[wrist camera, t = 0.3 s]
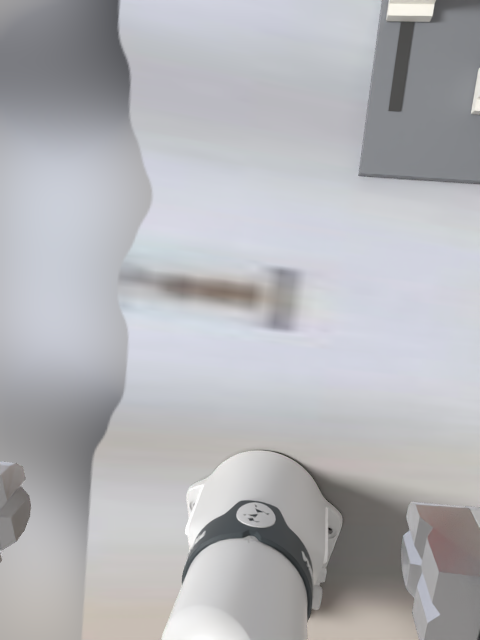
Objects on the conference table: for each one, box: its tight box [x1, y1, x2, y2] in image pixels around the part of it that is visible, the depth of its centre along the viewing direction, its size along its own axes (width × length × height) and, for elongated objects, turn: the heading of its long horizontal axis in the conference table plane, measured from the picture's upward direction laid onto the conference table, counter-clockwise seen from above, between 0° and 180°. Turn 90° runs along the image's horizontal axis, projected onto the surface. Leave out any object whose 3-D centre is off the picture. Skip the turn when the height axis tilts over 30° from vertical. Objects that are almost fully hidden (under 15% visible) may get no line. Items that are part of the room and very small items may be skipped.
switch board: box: [358, 0, 480, 184], centre depth 41 cm, size 20×14×2 cm
